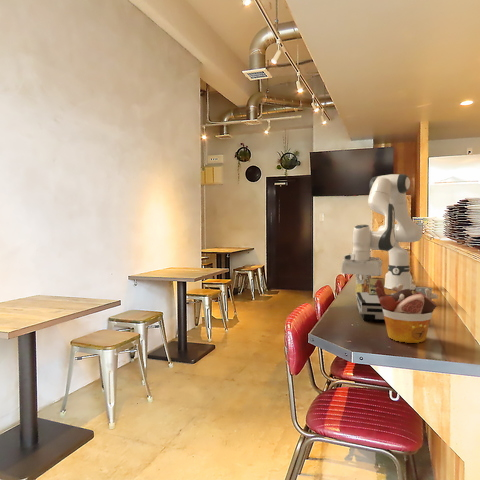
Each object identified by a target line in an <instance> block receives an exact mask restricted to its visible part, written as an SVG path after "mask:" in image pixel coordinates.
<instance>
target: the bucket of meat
mask: <svg viewBox="0 0 480 480" xmlns="http://www.w3.org/2000/svg"><path fill="white" fill-rule="evenodd" d="M403 286H404V285H403V284H399V285H398V288H397V287H396V286H394V287H392V288H391V289H390V290H391V291H394V292H393V293H394V294H393V295H391V294H390V295H391V296H388V295H389V294H386V291H385V287H384V288H383V284H382V281H381V280H380V279H378V280H377V281H376V283H375V287H376V290H375V291H376V294H377V296H378V298H379V303H380V304H381V306H382V309H383V313H384V318H385V319H384V323H385V328H386V332H387V336H388V338H389V339H390V338H391V339H393V340H392V341H394V340H395V341H394V342H396V341H399V342H398V343H401V342H405V343H404V344H407V343H417V344H420V343H419V342H421V343H423V342H425V340H426V339H427V335H428V330H429V328H430V323H431V319H432V316H433V312H434V310H435V309H436V307H437V304H436V302H434V301H433V300H436V299H438V298H439V296H438V294H436V292H435V293H434V292H432V294H431V290H430V289H427V288H426V289H425V293H426V295H424V294H423V293H421V292H418V291H416V290H415V292H414V293H412V290H410V289H405V290H402V288H403ZM431 299H432V300H431ZM391 339H390V340H391Z"/></svg>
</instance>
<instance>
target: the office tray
mask: <svg viewBox="0 0 480 480" xmlns="http://www.w3.org/2000/svg"><path fill="white" fill-rule="evenodd" d="M394 293H395V292H391V293H390V294H387V295H388V296H391V295H393V294H394ZM355 298H356V301H357V308H358V309H357V310H358V313H359V314H360V315H361V318H362V321H363V320H364V321H363V322H373V321H379V322H380V320H385V318H384V313H383V309H382V306H381V304H380V303H379V298H378V296H377V294H369V293H368V292H357V295H356V294H355Z"/></svg>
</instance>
